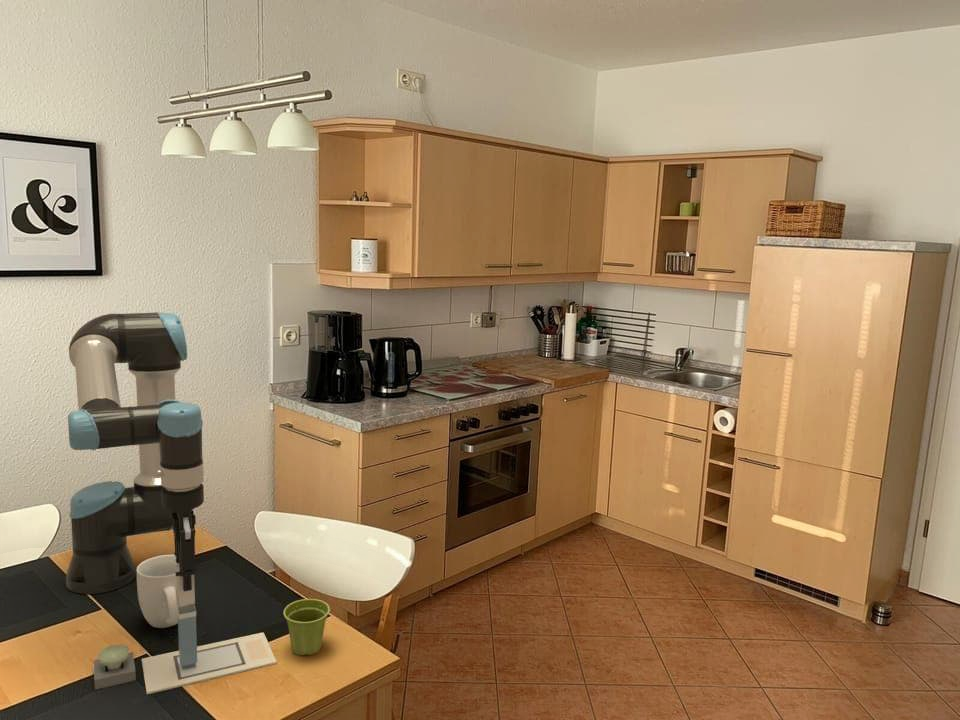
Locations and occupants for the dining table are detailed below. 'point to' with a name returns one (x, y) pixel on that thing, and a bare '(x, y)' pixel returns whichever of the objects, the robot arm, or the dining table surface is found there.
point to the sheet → (208, 663)
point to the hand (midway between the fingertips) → (186, 599)
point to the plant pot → (306, 625)
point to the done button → (113, 656)
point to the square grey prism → (187, 636)
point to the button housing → (114, 673)
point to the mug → (158, 590)
